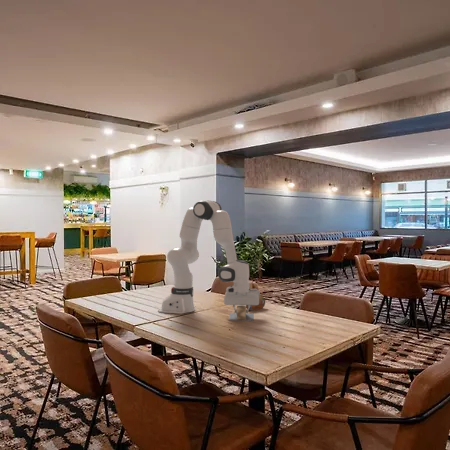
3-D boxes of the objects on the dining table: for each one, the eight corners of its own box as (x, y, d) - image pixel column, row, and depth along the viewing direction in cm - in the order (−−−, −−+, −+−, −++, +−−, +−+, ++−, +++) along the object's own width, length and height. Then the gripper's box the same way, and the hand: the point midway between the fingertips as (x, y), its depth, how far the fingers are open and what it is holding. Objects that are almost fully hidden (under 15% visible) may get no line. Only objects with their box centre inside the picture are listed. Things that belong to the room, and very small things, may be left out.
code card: (228, 320, 223) (228, 320, 223) (230, 313, 241) (230, 312, 241) (253, 321, 222) (253, 320, 222) (253, 313, 240) (253, 313, 240)
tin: (248, 311, 245) (248, 297, 245) (244, 310, 247) (244, 297, 247) (265, 308, 254) (265, 295, 254) (262, 307, 257) (262, 294, 257)
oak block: (236, 319, 226) (236, 308, 226) (237, 314, 238) (237, 303, 237) (245, 319, 225) (245, 308, 225) (246, 314, 237) (246, 304, 237)
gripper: (259, 287, 234) (259, 311, 234) (224, 287, 235) (224, 311, 235) (259, 289, 227) (259, 314, 228) (223, 289, 229) (223, 313, 229)
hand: (241, 312), depth 231 cm, fingers closed on oak block, 5 cm apart
